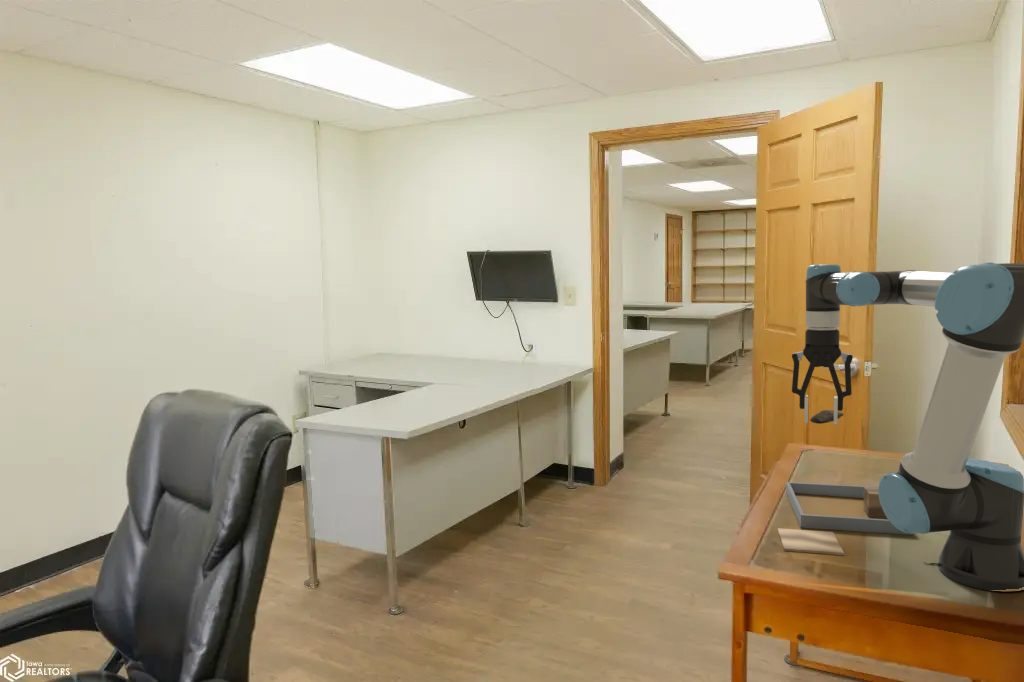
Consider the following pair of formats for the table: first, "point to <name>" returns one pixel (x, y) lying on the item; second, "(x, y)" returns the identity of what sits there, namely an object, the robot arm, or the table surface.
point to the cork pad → (810, 541)
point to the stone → (825, 416)
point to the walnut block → (872, 503)
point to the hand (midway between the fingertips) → (820, 422)
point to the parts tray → (836, 521)
